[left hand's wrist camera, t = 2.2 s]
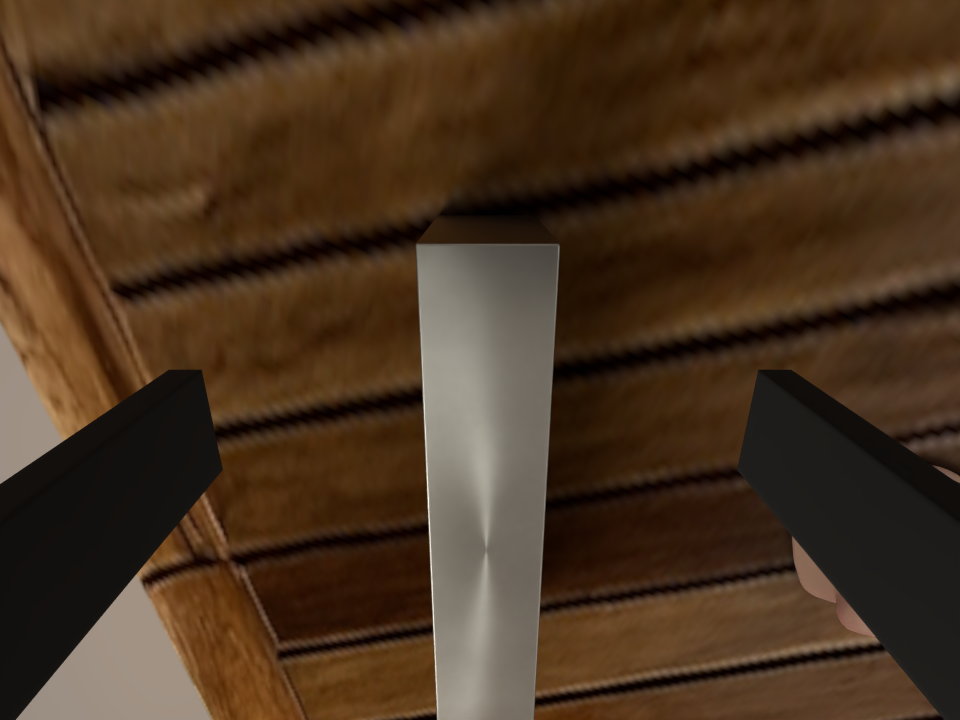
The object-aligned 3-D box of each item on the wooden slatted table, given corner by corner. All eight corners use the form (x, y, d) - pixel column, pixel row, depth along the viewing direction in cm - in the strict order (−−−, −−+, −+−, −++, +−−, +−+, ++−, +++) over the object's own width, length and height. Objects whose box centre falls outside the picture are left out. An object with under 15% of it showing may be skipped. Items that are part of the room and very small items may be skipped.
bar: (437, 215, 24) (414, 243, 16) (535, 214, 24) (560, 243, 16) (449, 604, 33) (438, 747, 25) (520, 605, 33) (532, 748, 25)
